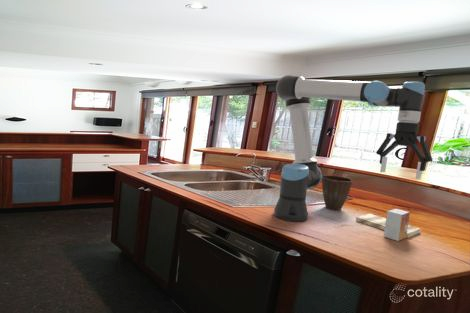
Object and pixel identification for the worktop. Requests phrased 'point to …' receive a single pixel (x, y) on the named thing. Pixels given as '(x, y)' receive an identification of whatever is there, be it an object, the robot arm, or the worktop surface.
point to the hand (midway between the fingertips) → (399, 175)
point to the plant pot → (335, 191)
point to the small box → (396, 224)
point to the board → (383, 223)
